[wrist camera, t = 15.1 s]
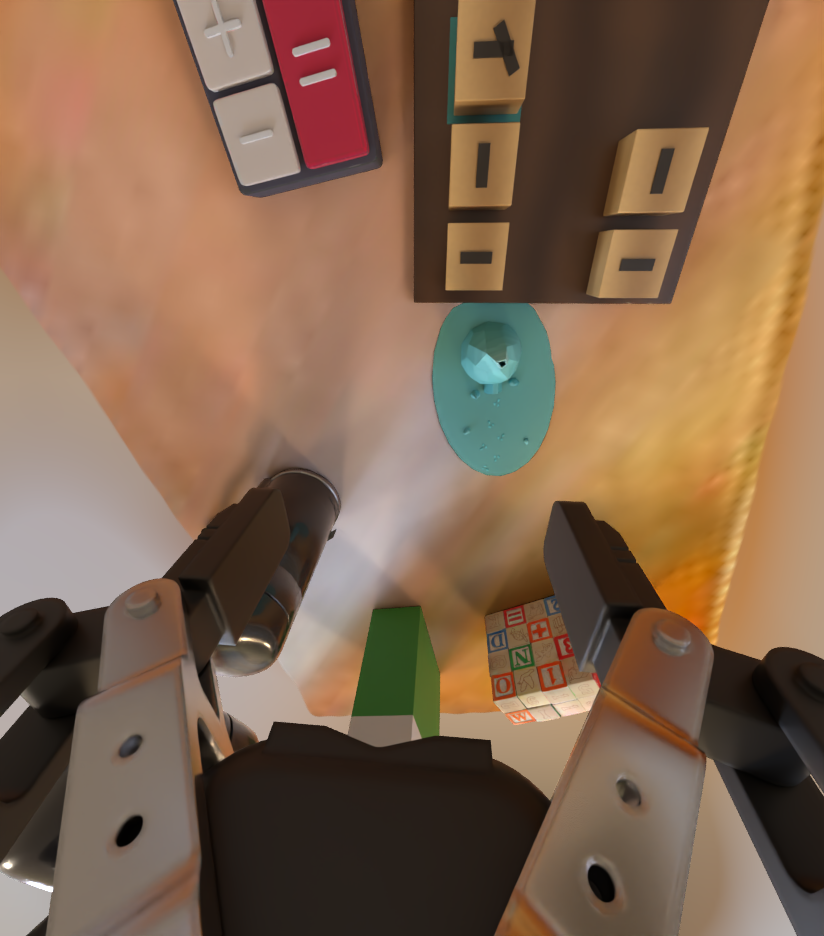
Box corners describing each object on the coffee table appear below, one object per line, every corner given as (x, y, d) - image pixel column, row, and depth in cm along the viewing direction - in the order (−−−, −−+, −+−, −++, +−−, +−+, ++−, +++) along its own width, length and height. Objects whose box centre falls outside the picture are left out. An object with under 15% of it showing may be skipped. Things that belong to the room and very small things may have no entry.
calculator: (236, 196, 28) (114, -147, 20) (260, 199, 31) (165, -89, 23) (377, 160, 26) (306, -232, 18) (385, 168, 29) (329, -155, 22)
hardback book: (440, 674, 63) (437, 879, 43) (398, 676, 64) (376, 875, 44) (420, 606, 55) (405, 820, 34) (373, 609, 56) (330, 818, 35)
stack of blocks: (632, 568, 48) (685, 658, 37) (645, 598, 50) (699, 690, 40) (483, 616, 55) (492, 703, 44) (501, 639, 57) (513, 728, 47)
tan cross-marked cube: (453, 116, 26) (454, 100, 24) (457, 23, 24) (458, -5, 21) (517, 114, 26) (525, 98, 23) (527, 20, 24) (537, -10, 21)
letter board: (414, 301, 34) (411, 307, 30) (414, -39, 24) (409, -90, 20) (665, 302, 32) (691, 308, 29) (780, -61, 22) (844, -121, 18)
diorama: (448, 481, 43) (449, 527, 36) (416, 297, 34) (409, 306, 26) (555, 468, 41) (581, 513, 34) (553, 269, 32) (587, 269, 24)
